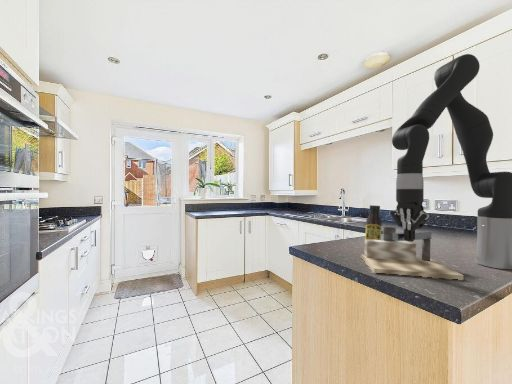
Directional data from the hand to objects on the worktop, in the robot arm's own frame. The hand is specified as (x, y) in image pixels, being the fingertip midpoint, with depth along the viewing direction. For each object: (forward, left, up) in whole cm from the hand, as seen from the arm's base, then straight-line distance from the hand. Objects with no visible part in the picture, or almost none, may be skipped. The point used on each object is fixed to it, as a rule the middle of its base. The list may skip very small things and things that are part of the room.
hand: (409, 241), depth 77 cm
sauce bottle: (+4, -26, -10) cm, 28 cm away
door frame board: (0, -3, -10) cm, 10 cm away
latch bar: (-3, -5, 0) cm, 6 cm away
